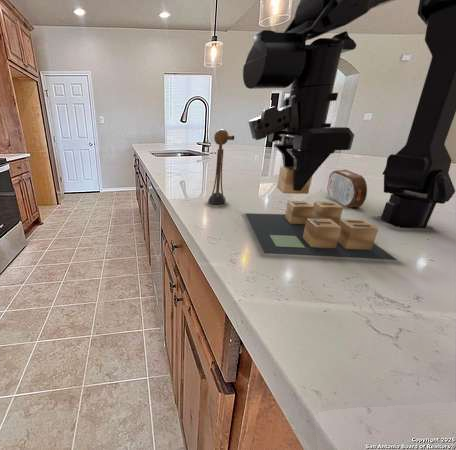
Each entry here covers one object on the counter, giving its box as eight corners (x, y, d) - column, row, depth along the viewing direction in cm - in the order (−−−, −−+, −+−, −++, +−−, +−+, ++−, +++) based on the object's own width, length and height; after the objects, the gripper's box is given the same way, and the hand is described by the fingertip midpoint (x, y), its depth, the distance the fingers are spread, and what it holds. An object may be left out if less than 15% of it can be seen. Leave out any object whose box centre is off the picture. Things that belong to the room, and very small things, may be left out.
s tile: (299, 188, 45) (304, 165, 44) (308, 193, 42) (313, 169, 40) (276, 187, 46) (280, 165, 44) (283, 193, 42) (287, 169, 41)
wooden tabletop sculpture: (231, 205, 68) (239, 128, 60) (221, 209, 65) (227, 129, 57) (214, 201, 72) (219, 128, 64) (204, 204, 69) (208, 129, 62)
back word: (329, 218, 55) (333, 201, 54) (338, 225, 52) (343, 206, 50) (284, 217, 57) (287, 200, 55) (290, 223, 53) (293, 205, 52)
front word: (357, 239, 45) (364, 219, 44) (371, 250, 42) (379, 228, 40) (302, 237, 47) (306, 217, 45) (311, 247, 43) (316, 226, 42)
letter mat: (334, 217, 57) (334, 215, 57) (396, 263, 39) (397, 259, 39) (245, 215, 60) (245, 212, 60) (264, 256, 42) (264, 252, 42)
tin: (362, 212, 60) (373, 178, 56) (348, 211, 60) (357, 178, 57) (334, 195, 73) (341, 167, 70) (322, 195, 74) (329, 167, 70)
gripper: (246, 96, 47) (238, 176, 53) (271, 82, 30) (255, 202, 36) (309, 93, 45) (293, 176, 51) (372, 76, 28) (338, 203, 34)
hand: (292, 187), depth 43 cm, fingers closed on s tile, 4 cm apart
